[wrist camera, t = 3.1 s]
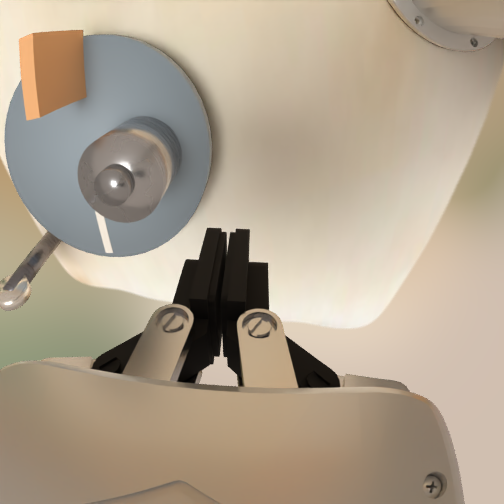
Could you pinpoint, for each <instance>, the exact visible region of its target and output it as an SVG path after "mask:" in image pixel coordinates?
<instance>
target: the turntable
mask: <svg viewBox="0 0 504 504" xmlns="http://www.w3.org/2000/svg"><path fill="white" fill-rule="evenodd" d="M19 50H20V68H21V81H20V83H19V85H18V86H17V88H16V90H15V92H14V95H13V97H12V100H11V102H10V106H9V109H8V113H7V118H6V125H5V152H6V159H7V164H8V168H9V172H10V175H11V178H12V181H13V183H14V185H15V188H16V190H17V192H18V194H19V196H20V198H21V199H22V201H23V203H24V204H25V206H26V207H27V209H28V210H29V211H30V213H31V214H32V215H33V216H34V217H35V219H36V220H37V221H38V222H39V223H40V224H41V225H42V226H43V227H44V228H45V229H46V230H48V231H49V232H50V233H51V234H53V235H54V236H55V237H57V238H58V239H60V240H62V241H63V242H65V243H66V244H68V245H70V246H73V247H75V248H77V249H79V250H82V251H85V252H88V253H92V254H96V255H100V256H109V257H125V256H133V255H138V254H141V253H145V252H148V251H150V250H153V249H155V248H157V247H159V246H161V245H163V244H164V243H166V242H168V241H169V240H170V239H171V238H173V237H174V236H175V235H176V234H178V233H179V231H180V230H181V229H182V228H183V227H184V226H185V225H186V224H187V223H188V221H189V220H190V218H191V217H192V215H193V214H194V212H195V210H196V208H197V206H198V204H199V202H200V200H201V198H202V195H203V193H204V190H205V187H206V184H207V181H208V178H209V173H210V167H211V160H212V140H211V130H210V125H209V121H208V116H207V113H206V110H205V107H204V105H203V102H202V99H201V97H200V96H199V94H198V92H197V90H196V88H195V86H194V84H193V83H192V82H191V80H190V79H189V77H188V76H187V75H186V73H185V72H184V71H183V70H182V69H181V68H180V67H179V66H178V65H177V64H176V63H175V62H174V61H173V60H172V59H171V58H170V57H169V56H167V55H166V54H165V53H163V52H162V51H160V50H159V49H157V48H156V47H154V46H152V45H150V44H148V43H146V42H144V41H141V40H138V39H135V38H131V37H127V36H121V35H89V36H83V30H69V31H52V32H40V33H32V34H30V35H27V36H25V37H23V38H20V39H19ZM138 116H148V117H153V118H156V119H158V120H161V121H162V122H164V123H165V124H167V125H168V126H169V127H170V128H171V129H172V130H173V131H174V133H175V134H176V136H177V137H178V139H179V142H180V145H181V149H182V161H181V166H180V169H179V171H178V173H177V174H176V176H175V178H174V179H173V181H172V182H171V184H170V186H169V187H168V189H167V190H166V192H165V194H164V195H163V197H162V199H161V200H160V202H159V204H158V205H157V207H156V208H155V210H154V211H153V212H152V213H151V214H150V215H149V216H147V217H146V218H144V219H142V220H139V221H136V222H131V223H122V222H116V221H112V220H109V219H107V218H105V217H103V216H102V215H100V214H99V213H97V212H96V211H95V210H94V209H93V208H92V207H91V206H90V205H89V204H88V202H87V201H86V200H85V198H84V196H83V194H82V192H81V190H80V187H79V183H78V173H77V172H78V165H79V161H80V158H81V156H82V154H83V152H84V151H85V149H86V148H87V147H88V146H89V145H90V144H91V143H93V142H94V141H96V140H97V139H98V138H100V137H101V136H103V135H104V134H106V133H107V132H109V131H110V130H112V129H114V128H115V127H117V126H118V125H120V124H121V123H123V122H125V121H126V120H128V119H130V118H134V117H138Z"/></svg>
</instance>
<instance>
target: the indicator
mask: <svg viewBox="0 0 504 504" xmlns="http://www.w3.org/2000/svg"><path fill="white" fill-rule="evenodd" d="M61 241H62V240H60V239H58V238H57V237H55V236H54V235H53V234H51V233H50V232H49V231H48V232H47V233H46V234H45V235H44V236H43V238H42V239H41V240H40V241H39V242H38V243H37V245H36V246H35V247H34V248H33V250H32V251H31V252H30V253H29V254H28V256H27V257H26V258H25V259H24V261H23V262H22V263H21V265H20V266H19V267H18V268H17V270H16V271H15V272H14V274H11V275H9V276H7V277H5V278H4V279H3V280H1V281H0V307H1V308H2V309H3V310H6V311H11V310H15V309H17V308H19V307H21V306H22V305H23V304H24V303H25V302H26V301H27V300H28V298H29V297H30V295H31V286H30V282H31V281H32V280H33V278H34V277H35V275H36V274H37V273H38V271H39V270H40V268H41V267H42V266H43V264H44V263H45V262H46V260H47V259H48V258H49V256H50V255H51V254H52V252H53V251H54V250H55V249H56V247H57V246H58V245H59V243H60V242H61Z"/></svg>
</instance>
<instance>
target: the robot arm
mask: <svg viewBox="0 0 504 504" xmlns="http://www.w3.org/2000/svg"><path fill="white" fill-rule="evenodd" d="M388 2H389V3H390V4H391V6H392V7H393V9H394V10H395V11H396V13H397V14H398V15H399V16H400V17H401V19H402V20H403V21H404V22H405V23H406V24H407V25H408V26H409V27H410V28H412V29H413V30H414V31H415V32H416V33H417V34H419V35H420V36H422V37H423V38H425V39H426V40H428V41H429V42H431V43H434V44H436V45H438V46H440V47H443V48H446V49H450V50H455V51H462V52H468V51H476V50H480V49H483V48H485V47H486V46H488V45H489V44H491V43H492V42H493V41H494V40H495V38H502V39H504V0H388ZM415 19H416V20H417V24H416V22H415ZM249 237H250V229H236V233H235V232H230V238H229V245H228V252H227V234H226V232H222V231H221V228H207V230H206V234H205V238H204V241H203V245H202V249H201V253H200V257H199V260H190V259H187V260H186V261H185V263H184V267H183V270H182V273H181V276H180V280H179V283H178V286H177V290H176V293H175V297H174V300H173V303H172V304H169V305H165V306H163V307H160V308H159V309H157V310H156V311H155V312H154V314H153V315H152V316H151V318H150V320H149V322H148V324H147V326H146V328H145V330H144V331H143V332H142V333H140V334H138V335H136V336H134V337H133V338H131V339H129V340H127V341H125V342H124V343H122V344H120V345H118V346H116V347H114V348H113V349H111V350H109V351H107V352H105V353H104V354H102V355H101V356H99V357H98V358H97V359H92V357H65V358H63V357H62V358H45V359H43V360H41V361H23V362H17V363H13V364H10V365H7V366H5V367H4V368H2V369H1V370H0V504H465V503H464V496H463V490H462V484H461V478H460V472H459V467H458V462H457V458H456V454H455V450H454V447H453V443H452V440H451V437H450V434H449V431H448V428H447V426H446V423H445V421H444V418H443V416H442V415H441V413H440V411H439V410H438V408H437V407H436V406H435V405H434V404H433V403H432V402H431V401H430V400H428V399H427V398H424V397H423V396H420V395H418V394H415V393H412V392H410V391H409V390H408V388H407V387H406V386H405V385H404V384H402V383H401V382H397V381H393V380H385V379H377V378H370V377H363V376H356V375H350V374H346V375H345V377H344V376H338V375H337V374H336V373H335V372H334V371H332V370H331V369H330V368H329V367H327V366H326V365H325V364H323V363H322V362H320V361H319V360H317V359H316V358H315V357H314V356H312V355H311V354H310V353H308V352H307V351H305V350H304V349H303V348H301V347H300V346H299V345H297V344H296V343H295V342H293V341H292V340H291V339H289V338H288V337H287V336H285V334H284V329H283V325H282V322H281V320H280V318H279V317H278V316H277V315H276V314H275V313H273V312H271V311H269V289H268V263H260V262H249ZM222 337H223V354H224V357H227V361H228V367H230V368H231V369H232V370H233V371H234V372H235V373H236V374H237V380H238V387H236V386H234V387H233V386H219V385H206V384H199V382H200V379H201V376H202V370H203V369H204V368H206V367H207V366H209V365H210V364H213V362H214V356H218V357H219V355H220V347H221V338H222Z"/></svg>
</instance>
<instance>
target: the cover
mask: <svg viewBox="0 0 504 504" xmlns="http://www.w3.org/2000/svg"><path fill="white" fill-rule="evenodd" d="M181 161H182V149H181V145H180V142H179V139H178V137H177V136H176V134H175V133H174V131H173V130H172V129H171V128H170V127H169V126H168V125H167V124H165V123H164V122H162V121H161V120H158V119H156V118H153V117H148V116H138V117H134V118H130V119H128V120H126V121H125V122H123V123H121V124H120V125H118V126H117V127H115V128H114V129H112V130H110V131H109V132H107V133H106V134H104V135H103V136H101V137H100V138H98V139H97V140H96V141H94V142H93V143H91V144H90V145H89V146H88V147H87V148H86V149H85V151H84V152H83V154H82V156H81V158H80V161H79V165H78V172H77V173H78V183H79V187H80V190H81V192H82V194H83V196H84V198H85V200H86V201H87V202H88V204H89V205H90V206H91V207H92V208H93V209H94V210H95V211H96V212H97V213H99V214H100V215H102V216H103V217H105V218H107V219H109V220H112V221H116V222H122V223H131V222H136V221H139V220H142V219H144V218H146V217H147V216H149V215H150V214H151V213H152V212H153V211H154V210H155V208H156V207H157V205H158V204H159V202H160V200H161V199H162V197H163V195H164V194H165V192H166V190H167V189H168V187H169V186H170V184H171V182H172V181H173V179H174V178H175V176H176V174H177V173H178V171H179V169H180V166H181Z"/></svg>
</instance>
